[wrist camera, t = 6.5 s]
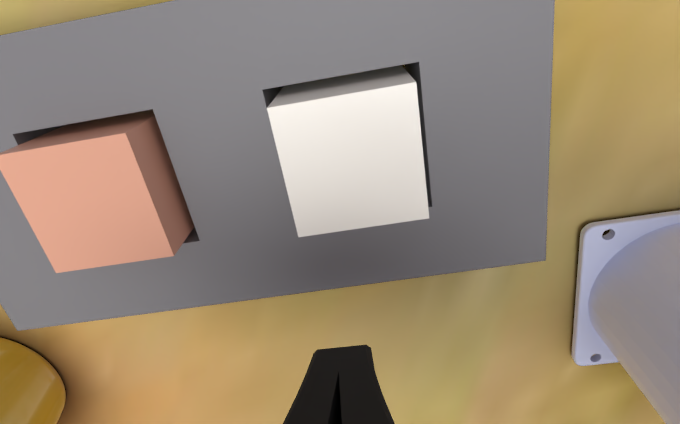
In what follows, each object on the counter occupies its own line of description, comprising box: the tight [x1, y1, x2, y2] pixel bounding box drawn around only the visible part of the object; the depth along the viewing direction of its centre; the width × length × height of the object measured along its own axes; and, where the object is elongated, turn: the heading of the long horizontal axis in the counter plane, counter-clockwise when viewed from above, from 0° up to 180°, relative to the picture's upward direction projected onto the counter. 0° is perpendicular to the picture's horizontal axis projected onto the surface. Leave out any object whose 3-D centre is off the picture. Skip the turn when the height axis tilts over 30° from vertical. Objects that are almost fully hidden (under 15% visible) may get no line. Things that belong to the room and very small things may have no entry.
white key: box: [267, 65, 429, 237], centre depth 14 cm, size 4×4×4 cm
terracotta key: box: [0, 109, 195, 273], centre depth 15 cm, size 4×4×4 cm
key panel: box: [0, 0, 555, 331], centre depth 16 cm, size 20×10×4 cm, turn 100°
